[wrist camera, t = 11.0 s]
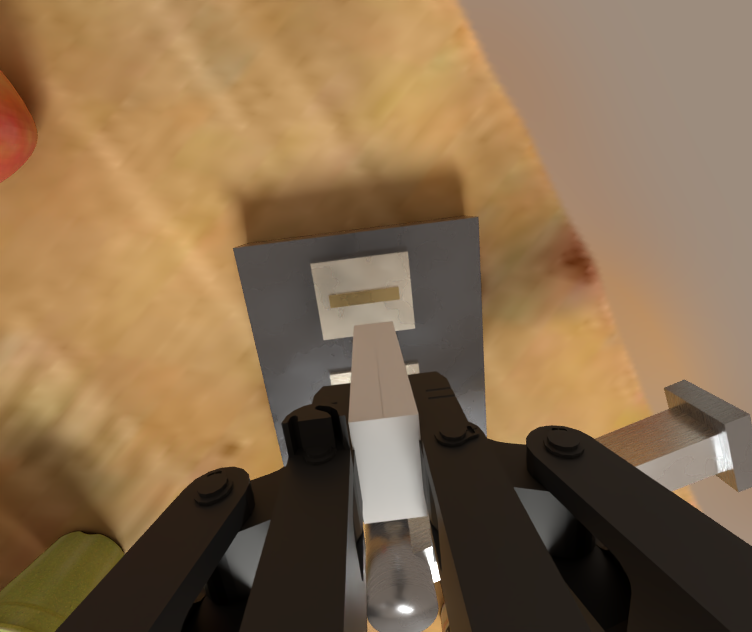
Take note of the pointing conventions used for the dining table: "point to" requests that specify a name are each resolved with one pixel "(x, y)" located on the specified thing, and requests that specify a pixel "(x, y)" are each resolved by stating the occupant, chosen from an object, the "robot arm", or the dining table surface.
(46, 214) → the dining table surface
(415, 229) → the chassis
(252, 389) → the dining table surface
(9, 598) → the plant pot
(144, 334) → the dining table surface
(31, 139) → the apple
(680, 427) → the grey bar
